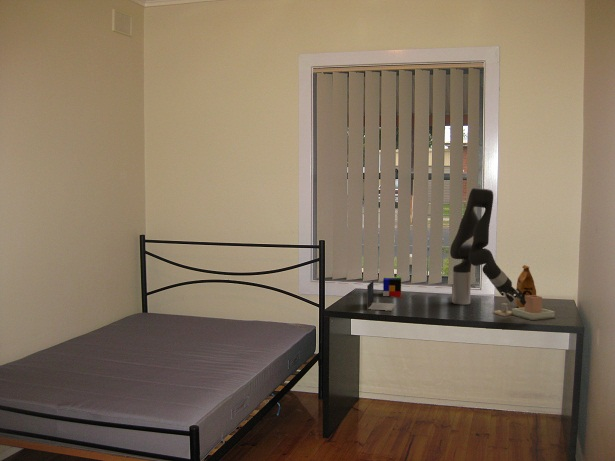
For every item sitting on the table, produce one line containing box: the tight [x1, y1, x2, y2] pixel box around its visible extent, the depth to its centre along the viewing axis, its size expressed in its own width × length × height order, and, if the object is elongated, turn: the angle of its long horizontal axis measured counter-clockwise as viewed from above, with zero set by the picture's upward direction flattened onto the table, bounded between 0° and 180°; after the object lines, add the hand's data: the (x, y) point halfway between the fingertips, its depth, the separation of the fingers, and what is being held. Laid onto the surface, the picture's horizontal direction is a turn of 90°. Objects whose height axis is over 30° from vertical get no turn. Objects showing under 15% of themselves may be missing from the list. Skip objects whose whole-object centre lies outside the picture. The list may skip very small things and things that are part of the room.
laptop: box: [366, 280, 396, 312], centre depth 334 cm, size 18×12×13 cm
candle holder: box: [492, 302, 514, 317], centre depth 316 cm, size 8×8×5 cm
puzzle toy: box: [382, 276, 402, 298], centre depth 368 cm, size 10×10×10 cm
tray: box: [511, 307, 556, 321], centre depth 310 cm, size 14×14×3 cm
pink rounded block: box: [524, 294, 543, 313], centre depth 310 cm, size 6×7×9 cm
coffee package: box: [515, 264, 537, 308], centre depth 328 cm, size 10×12×22 cm
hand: (518, 302), depth 306 cm, fingers open, 8 cm apart
